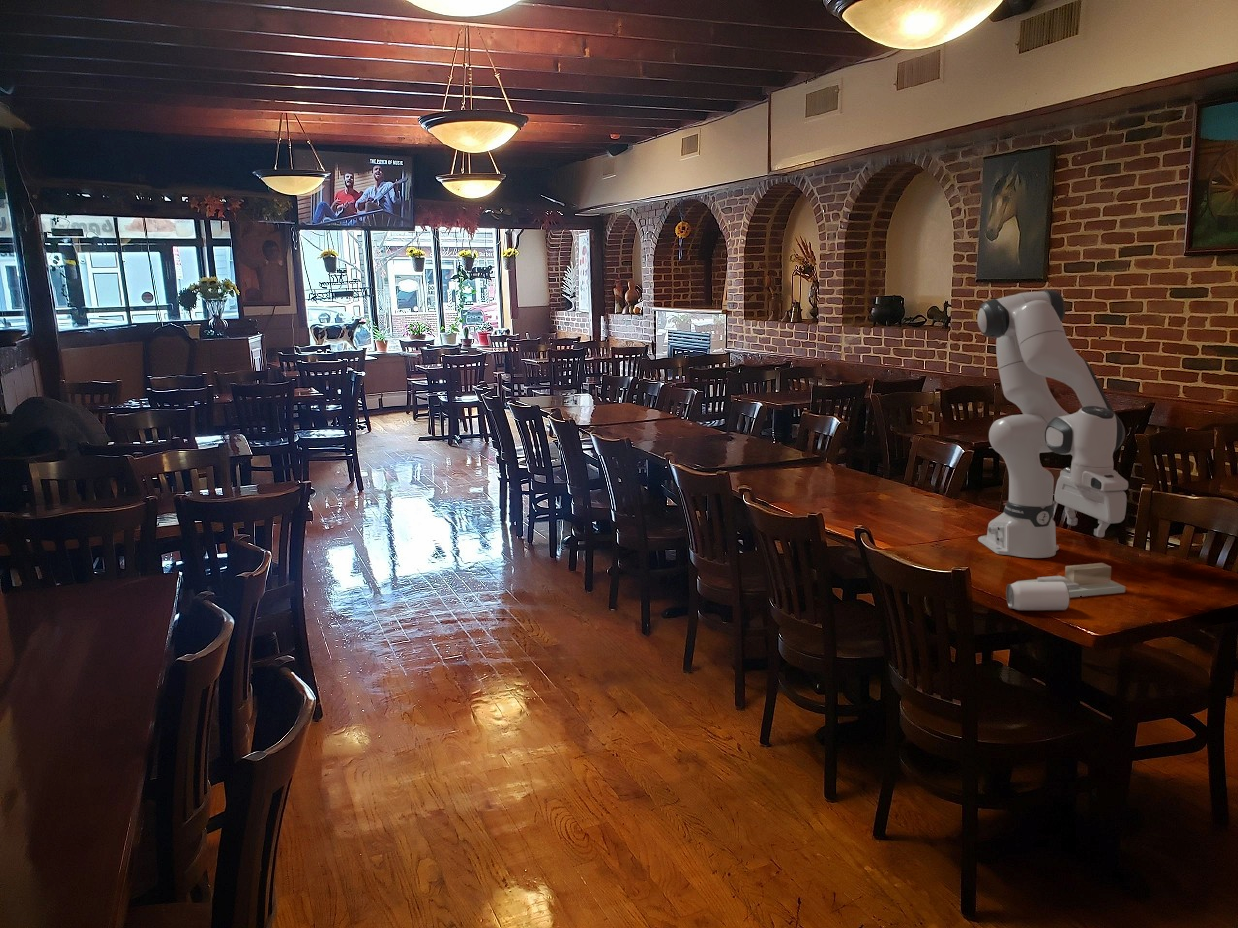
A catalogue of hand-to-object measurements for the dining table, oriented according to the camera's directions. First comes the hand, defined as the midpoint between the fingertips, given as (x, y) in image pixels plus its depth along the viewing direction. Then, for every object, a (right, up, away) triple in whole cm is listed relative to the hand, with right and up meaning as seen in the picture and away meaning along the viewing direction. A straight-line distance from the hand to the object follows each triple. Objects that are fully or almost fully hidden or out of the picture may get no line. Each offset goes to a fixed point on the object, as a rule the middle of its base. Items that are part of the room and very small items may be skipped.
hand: (1085, 530), depth 209 cm
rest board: (-3, -15, +1) cm, 15 cm away
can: (-11, -14, -12) cm, 22 cm away
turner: (-1, -13, +1) cm, 13 cm away
